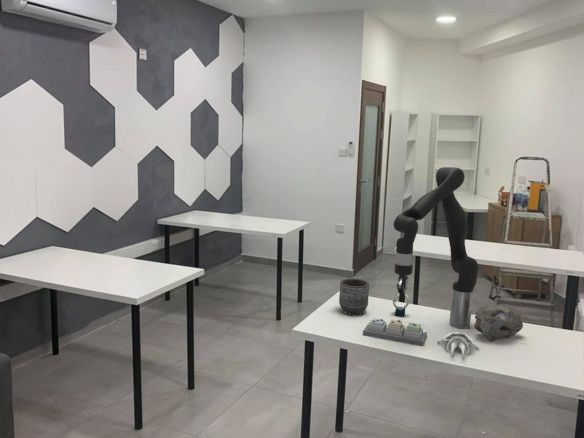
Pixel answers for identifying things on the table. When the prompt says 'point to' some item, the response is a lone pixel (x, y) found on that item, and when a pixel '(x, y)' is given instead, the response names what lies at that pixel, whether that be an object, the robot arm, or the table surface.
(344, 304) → the planter
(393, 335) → the keypad
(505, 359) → the table surface
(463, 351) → the figurine
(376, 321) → the button three
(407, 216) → the robot arm
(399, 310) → the watch
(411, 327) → the button one
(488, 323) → the fossil
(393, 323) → the button two
